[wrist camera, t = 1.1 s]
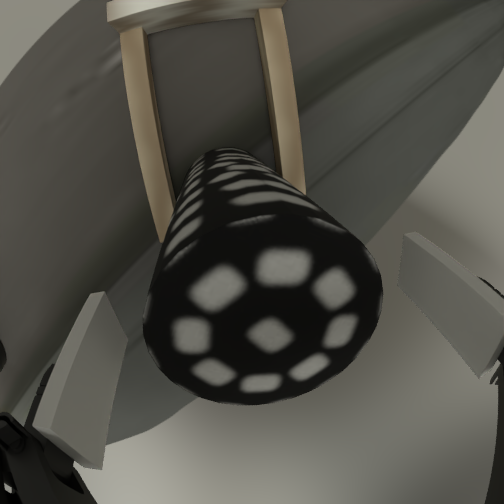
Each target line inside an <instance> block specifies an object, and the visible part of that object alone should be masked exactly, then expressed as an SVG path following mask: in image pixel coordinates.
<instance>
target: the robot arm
mask: <svg viewBox="0 0 504 504" xmlns="http://www.w3.org/2000/svg"><path fill="white" fill-rule="evenodd" d="M397 285H398V287H399V288H400V289H401V290H402V291H403V292H404V293H405V294H406V295H407V296H408V297H409V298H410V299H411V300H412V301H413V302H414V303H415V304H416V306H417V307H418V308H419V309H420V310H421V311H422V312H423V313H424V314H425V315H426V317H427V318H428V319H429V320H430V321H431V322H432V323H433V324H434V325H435V327H436V328H437V329H438V330H439V331H440V332H441V333H442V335H443V336H444V337H445V338H446V339H447V340H448V341H449V343H450V344H451V345H452V346H453V348H454V349H455V350H456V351H457V352H458V354H459V355H460V356H461V357H462V358H463V360H464V361H465V362H466V363H467V365H468V366H469V367H470V368H471V370H472V371H473V372H474V373H475V375H476V376H477V377H478V378H481V377H482V376H484V375H485V374H487V373H488V372H489V371H491V369H492V368H493V366H494V364H495V362H496V361H497V359H498V360H499V361H500V363H501V364H500V366H499V367H498V369H497V370H496V372H495V373H494V375H493V377H492V378H491V380H490V384H492V383H493V382H494V380H495V379H496V377H497V376H498V379H497V381H496V383H495V385H498V425H497V437H496V446H495V454H494V461H493V467H492V473H491V478H490V484H489V488H488V492H487V497H486V500H485V504H504V296H503V295H501V293H500V292H499V291H498V290H497V289H494V287H493V286H492V285H491V284H489V283H488V282H487V281H486V280H483V279H482V278H480V277H477V276H476V275H474V274H473V273H472V272H471V271H469V270H468V269H467V268H466V267H464V266H463V265H462V264H460V263H459V262H458V261H456V260H455V259H454V258H452V257H451V256H450V255H448V254H447V253H446V252H444V251H443V250H441V249H440V248H439V247H437V246H436V245H435V244H433V243H432V242H430V241H429V240H428V239H426V238H425V237H423V236H422V235H420V234H419V233H417V232H412V233H407V234H404V238H403V247H402V255H401V263H400V270H399V277H398V283H397ZM127 343H128V338H127V336H126V334H125V332H124V330H123V329H122V327H121V325H120V323H119V321H118V318H117V316H116V314H115V312H114V310H113V308H112V306H111V304H110V302H109V299H108V297H107V295H106V293H105V291H103V292H98V293H92V294H90V295H89V297H88V299H87V300H86V302H85V304H84V306H83V308H82V310H81V312H80V314H79V316H78V318H77V319H76V321H75V323H74V325H73V327H72V329H71V331H70V334H69V336H68V338H67V340H66V342H65V344H64V346H63V348H62V350H61V353H60V355H59V357H58V359H57V362H56V364H52V365H51V366H50V367H49V369H48V370H47V371H46V372H45V374H44V376H43V378H42V380H41V383H40V387H39V388H38V390H37V392H36V394H37V395H36V396H35V398H34V400H33V403H32V405H31V408H30V411H29V414H28V417H27V419H26V422H25V425H24V427H23V426H22V425H21V424H20V423H19V422H18V421H17V420H16V419H15V418H14V417H13V416H12V415H10V414H9V413H7V412H2V413H0V504H97V502H96V501H95V499H94V498H93V496H92V495H91V493H90V491H89V490H88V489H87V487H86V485H85V483H84V481H83V480H82V478H81V476H80V475H79V473H78V471H77V470H76V469H75V468H74V467H73V463H74V461H76V462H77V463H79V464H80V465H81V466H83V467H85V468H92V469H99V470H102V466H103V458H104V452H105V445H106V439H107V433H108V427H109V422H110V416H111V411H112V406H113V401H114V397H115V392H116V387H117V383H118V379H119V374H120V370H121V366H122V362H123V358H124V354H125V350H126V346H127ZM5 363H6V355H5V351H4V348H3V346H2V344H1V342H0V372H1V371H2V369H3V367H4V365H5ZM4 483H5V484H7V485H8V486H10V487H12V493H9V492H8V491H6V490H5V488H4Z"/></svg>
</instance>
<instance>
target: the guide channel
mask: <svg viewBox="0 0 504 504" xmlns="http://www.w3.org/2000/svg"><path fill="white" fill-rule="evenodd" d="M286 1H287V0H114V1H111V2H108V3H107V20H108V23H109V24H110V25H111V26H112V27H113V28H114V29H115V30H117V31H118V32H119V33H120V41H121V51H122V60H123V68H124V76H125V83H126V90H127V97H128V103H129V109H130V115H131V121H132V126H133V132H134V137H135V142H136V147H137V152H138V156H139V161H140V166H141V170H142V175H143V179H144V183H145V187H146V191H147V196H148V200H149V203H150V207H151V211H152V215H153V219H154V223H155V226H156V230H157V233H158V237H159V240H160V243H161V242H163V241H164V238H165V235H166V232H167V229H168V225H169V222H170V219H171V217H172V214H173V211H174V208H175V205H176V199H175V194H174V190H173V185H172V181H171V176H170V171H169V167H168V162H167V157H166V152H165V147H164V141H163V136H162V131H161V125H160V120H159V114H158V108H157V102H156V96H155V89H154V83H153V76H152V69H151V61H150V54H149V45H148V37H147V35H148V34H151V33H155V32H159V31H164V30H168V29H173V28H177V27H182V26H188V25H193V24H199V23H206V22H213V21H220V20H229V19H240V18H254V21H255V26H256V32H257V38H258V44H259V50H260V57H261V63H262V69H263V76H264V83H265V89H266V96H267V103H268V110H269V118H270V125H271V133H272V140H273V148H274V156H275V165H276V173H277V174H279V175H280V176H281V177H283V178H284V179H285V180H287V181H288V182H289V183H290V184H292V185H293V186H294V187H296V188H297V189H298V190H299V191H301V192H302V193H303V194H305V195H306V189H305V177H304V166H303V155H302V146H301V136H300V127H299V119H298V111H297V103H296V95H295V88H294V81H293V74H292V67H291V61H290V55H289V49H288V43H287V37H286V31H285V26H284V21H283V15H282V10H281V8H282V6H283V5H284V4H285V2H286Z"/></svg>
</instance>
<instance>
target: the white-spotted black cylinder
mask: <svg viewBox="0 0 504 504" xmlns="http://www.w3.org/2000/svg"><path fill="white" fill-rule="evenodd" d="M382 300H383V287H382V280H381V275H380V272H379V269H378V267H377V264H376V262H375V259H374V258H373V256H372V255H371V254H370V252H369V251H368V250H367V248H366V247H365V246H364V244H363V243H362V242H361V241H360V240H359V239H357V238H356V237H355V236H354V235H353V234H352V233H351V232H349V231H348V230H347V229H346V228H345V227H344V226H342V225H341V224H340V223H339V222H338V221H336V220H335V219H334V218H333V217H332V216H330V215H329V214H328V213H327V212H326V211H324V210H323V209H322V208H321V207H320V206H318V205H317V204H316V203H315V202H313V201H312V200H311V199H310V198H308V197H307V196H306V195H305V194H303V193H302V192H301V191H299V190H298V189H297V188H296V187H294V186H293V185H292V184H290V183H289V182H288V181H287V180H285V179H284V178H283V177H281V176H280V175H279V174H277V173H276V172H275V171H273V170H272V169H271V168H269V167H268V166H267V165H265V164H264V163H263V162H261V161H260V160H258V159H257V158H256V157H254V156H253V155H251V154H250V153H248V152H246V151H243V150H241V149H237V148H231V147H226V148H218V149H214V150H211V151H209V152H207V153H205V154H203V155H202V156H201V157H199V158H198V159H197V160H196V161H195V162H194V163H193V164H192V166H191V167H190V169H189V170H188V172H187V175H186V177H185V180H184V183H183V185H182V188H181V191H180V194H179V196H178V199H177V202H176V205H175V208H174V211H173V214H172V217H171V219H170V222H169V225H168V229H167V232H166V235H165V238H164V241H163V244H162V247H161V251H160V254H159V257H158V261H157V264H156V267H155V271H154V274H153V278H152V281H151V285H150V289H149V292H148V296H147V300H146V304H145V308H144V312H143V335H144V338H145V342H146V345H147V348H148V352H149V354H150V355H151V357H152V359H153V360H154V362H155V364H156V365H157V367H158V368H159V369H160V370H161V371H162V372H163V373H164V374H165V375H166V376H167V377H168V378H169V379H170V380H171V381H172V382H173V383H175V384H176V385H178V386H179V387H181V388H182V389H184V390H185V391H187V392H189V393H192V394H194V395H196V396H198V397H201V398H204V399H207V400H211V401H215V402H218V403H224V404H232V405H260V404H268V403H275V402H279V401H283V400H287V399H291V398H294V397H297V396H299V395H302V394H304V393H307V392H309V391H312V390H313V389H315V388H317V387H319V386H321V385H322V384H324V383H326V382H328V381H329V380H331V379H332V378H333V377H335V376H336V375H338V374H339V373H340V372H341V371H343V370H344V369H345V368H346V367H347V366H348V365H349V364H350V363H351V362H352V361H353V360H354V359H355V358H356V357H357V356H358V355H359V354H360V352H361V351H362V349H363V348H364V347H365V346H366V344H367V343H368V341H369V339H370V338H371V336H372V334H373V332H374V330H375V328H376V326H377V323H378V320H379V316H380V313H381V309H382Z"/></svg>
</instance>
